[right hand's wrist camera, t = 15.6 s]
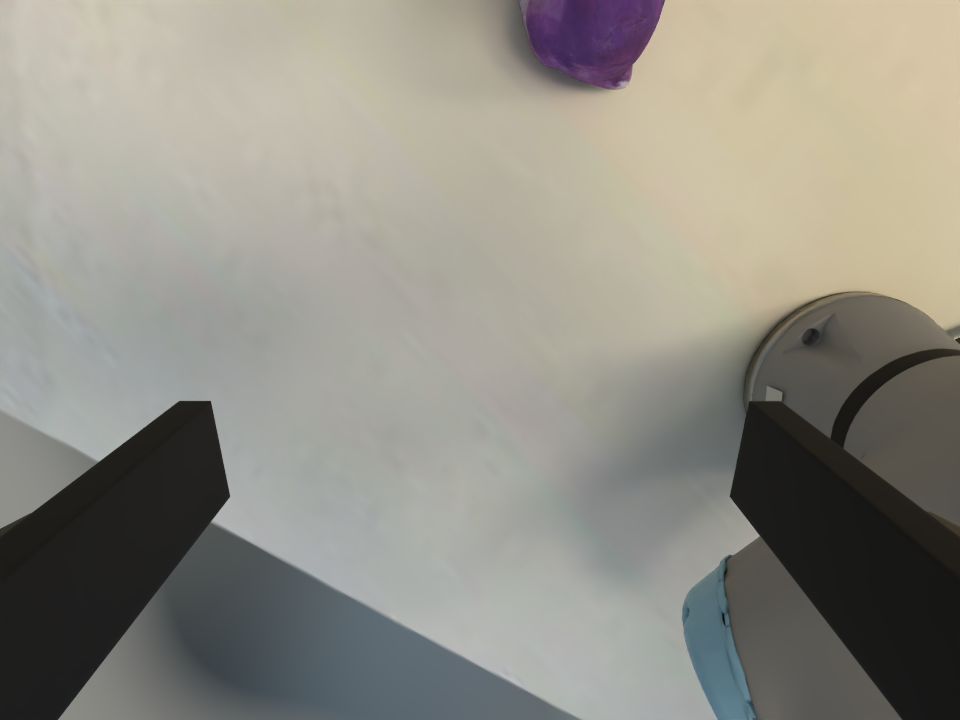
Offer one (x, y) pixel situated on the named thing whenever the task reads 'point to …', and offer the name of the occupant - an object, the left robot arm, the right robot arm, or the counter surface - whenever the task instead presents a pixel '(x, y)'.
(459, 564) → the counter surface
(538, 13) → the figurine
